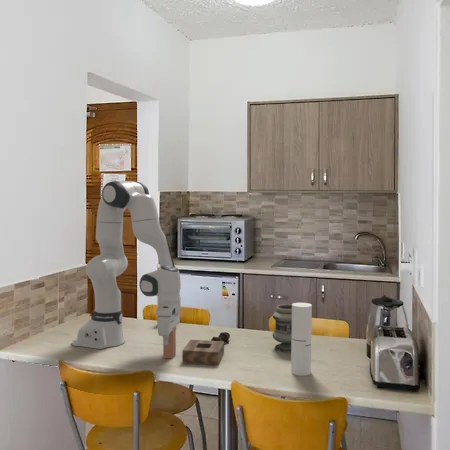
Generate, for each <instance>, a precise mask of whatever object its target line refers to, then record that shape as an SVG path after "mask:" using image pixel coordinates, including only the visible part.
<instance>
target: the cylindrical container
mask: <svg viewBox="0 0 450 450" xmlns="http://www.w3.org/2000/svg"><path fill="white" fill-rule="evenodd" d="M291 305H292V339H291V352H290V353H291V354H290V355H291V356H290V371H291V374H292V375H295V376H302V377H303V376H308V375H311V373H312V372H311V371H312V365H311V364H312V325H313V324H312V323H313V321H312V320H313V319H312V318H313V317H312V314H313V313H312V312H313V309H312V308H313V305H312V304H311V303H308V302H293V303H292V304H291Z"/></svg>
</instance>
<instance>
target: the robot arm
mask: <svg viewBox="0 0 450 450" xmlns="http://www.w3.org/2000/svg"><path fill="white" fill-rule="evenodd" d="M101 197H102V198H101V199H99V203H98V207H97V212H96V213H97V214H96V223H95V224H96V228H95V229H96V231H95V240H96V242H97V243H98V246H99V251H100V254H99V255H96V256H93V258H91V259H90V260H89V261H88V262H87V263H86V265H85V273H86V276H87V277H88V278H89V280H90V281H91V283H92V288H93V292H94V293H93V294H94V309H93V311H91V312H90V313H89V317H90V319H89V320H88V321H86V323H84V324H83V325H82V326H81V327H79V328H78V332H77V337H75V338H74V339H72V341H71V345H72V346H77V347H84V348H92V349H98V350H100V349H107V348H111V347H117V346H119V345H123V344H124V343H126V339H125V336H124V331H123V309H122V292H121V290H120V289H119V287H118V283H117V278H116V277H118V276H121V275H122V274H123V273H124V272H125V271H126V270H127V268H128V266H129V262H128V261H129V260H128V257H127V256H126V254H125V250H124V245H123V228H124V227H123V226H124V213H125V210H126V209H127V210H128V211H129V212H130V220H131V228H132V232H133V235H134V237H135V239H137V240H138V241H140V242H141V243H143V244H146V245H148V246H151V247H152V248H153V249H154V250H155V252H156V254H157V259H158V262H159V268H157V269H156V270H154V271H151V272H148V273H147V272H146V273H145V274H143V275H142V276H141V277H140V280H139V290H140V292H141V293H142V295H144V296H146V297H157V298H158V299H157V301H158V304H157V308H156V310H155V315H156V316H157V318H156V320H157V321H156V323H157V326H156V327H157V334H158V336H160V337H162V339H163V340H164V345H168V344H169V338H168V336H169V334H170V333H171V332H172V330H173V328H174V326H176V327H177V326H178V325H179V324H181V323H180V321H181V316H180V312H181V305H182V304H181V303H182V301H181V294H180V293H181V288H182V287H181V282H182V281H181V274H180V271H179V269H178V268H177V267H176V266H175V261H174V257H173V254H172V249H171V246H170V243H169V240H168V237H167V235H166V234H165V233H164V232H163V230H162V227H161V225H160V224H161V223H160V220H159V219H160V217H159V213H158V208H157V205H156V202H155V199H154V198H153V196H152V195H150V193H149V189H148V187H147V185H145V184H144V183H143V182H140V181H134V180H133V181H132V180H121V181H120V180H119V181H118V180H113V181H109V182H107V183H105V185H104V186H103V188H102V190H101Z"/></svg>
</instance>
